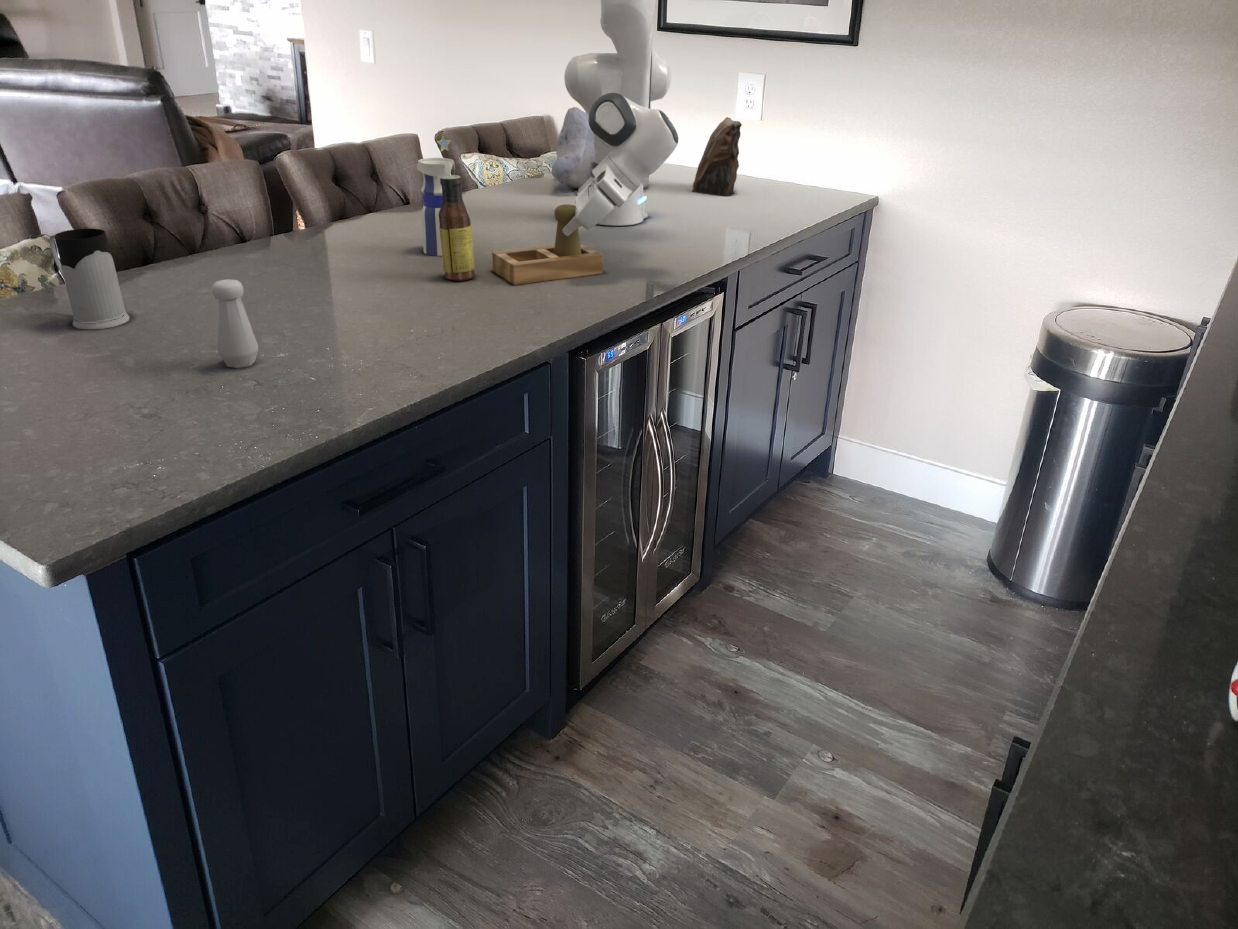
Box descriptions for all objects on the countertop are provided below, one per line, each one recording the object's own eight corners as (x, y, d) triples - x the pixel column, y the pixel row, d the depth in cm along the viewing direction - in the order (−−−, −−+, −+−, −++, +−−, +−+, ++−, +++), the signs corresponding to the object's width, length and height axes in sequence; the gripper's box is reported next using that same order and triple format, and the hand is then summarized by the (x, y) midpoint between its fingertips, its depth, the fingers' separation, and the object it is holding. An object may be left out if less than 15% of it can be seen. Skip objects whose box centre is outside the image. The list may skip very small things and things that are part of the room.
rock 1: (547, 210, 266) (547, 155, 283) (650, 220, 271) (644, 165, 287) (556, 140, 248) (555, 86, 265) (665, 153, 253) (658, 98, 270)
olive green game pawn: (578, 263, 190) (578, 209, 185) (549, 261, 192) (549, 207, 186) (585, 256, 196) (585, 203, 191) (557, 254, 197) (556, 201, 192)
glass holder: (91, 332, 154) (69, 243, 147) (44, 316, 161) (20, 230, 154) (140, 319, 161) (120, 232, 154) (92, 304, 167) (71, 220, 161)
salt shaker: (227, 356, 146) (212, 275, 140) (264, 356, 147) (251, 275, 141) (216, 370, 141) (200, 286, 135) (254, 369, 142) (240, 286, 136)
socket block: (492, 271, 193) (492, 251, 191) (578, 260, 201) (578, 242, 200) (514, 285, 184) (513, 265, 182) (602, 273, 193) (603, 254, 191)
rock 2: (718, 185, 280) (723, 115, 270) (751, 192, 272) (757, 120, 262) (690, 190, 272) (694, 118, 262) (723, 198, 264) (728, 123, 255)
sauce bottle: (480, 275, 190) (475, 175, 180) (466, 283, 184) (460, 180, 175) (451, 271, 191) (445, 172, 182) (436, 279, 186) (429, 177, 177)
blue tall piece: (468, 249, 208) (462, 131, 196) (446, 257, 201) (439, 136, 189) (438, 244, 211) (430, 128, 199) (415, 252, 204) (406, 133, 192)
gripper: (600, 161, 195) (554, 208, 199) (603, 179, 177) (552, 230, 181) (621, 183, 197) (575, 229, 201) (626, 203, 179) (575, 253, 183)
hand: (564, 230), depth 191 cm, fingers closed on olive green game pawn, 4 cm apart
